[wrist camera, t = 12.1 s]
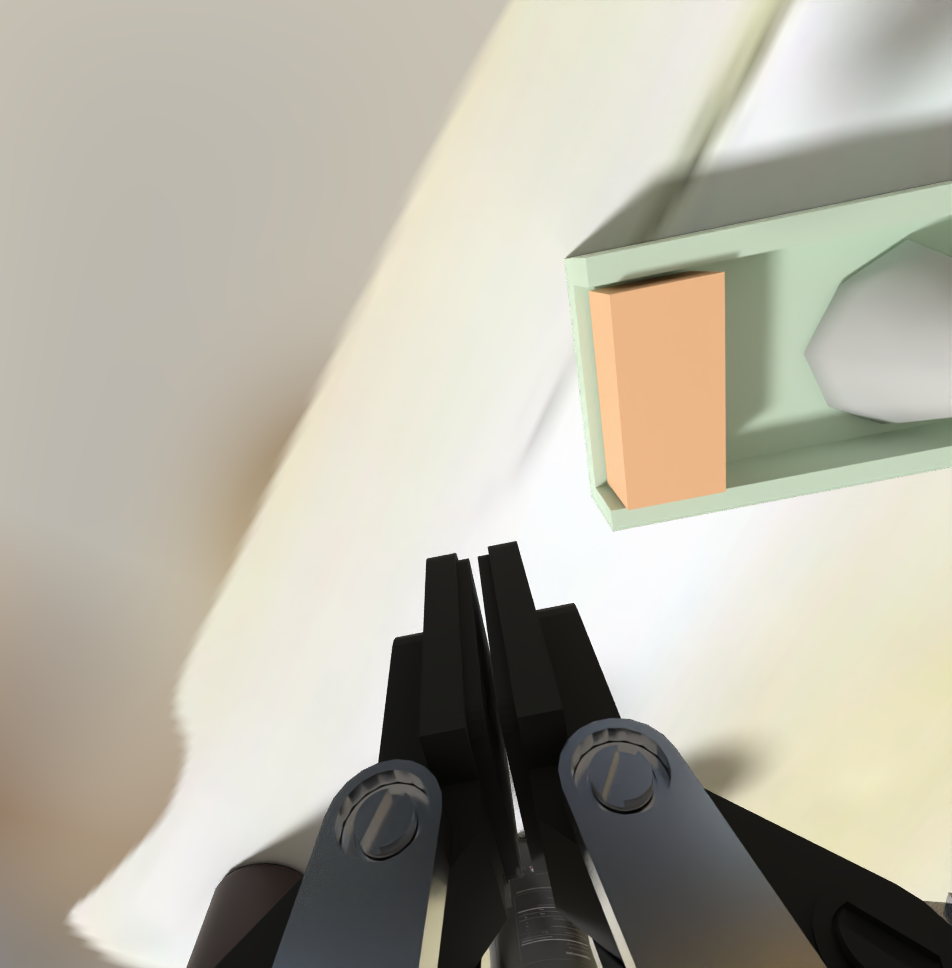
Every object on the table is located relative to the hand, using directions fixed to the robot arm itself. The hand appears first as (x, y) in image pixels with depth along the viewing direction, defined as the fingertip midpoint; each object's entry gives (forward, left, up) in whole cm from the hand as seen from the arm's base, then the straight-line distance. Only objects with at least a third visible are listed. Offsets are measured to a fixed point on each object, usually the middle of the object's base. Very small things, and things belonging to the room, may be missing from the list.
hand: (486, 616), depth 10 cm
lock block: (-8, 0, -14) cm, 16 cm away
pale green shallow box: (-15, 0, -16) cm, 22 cm away
